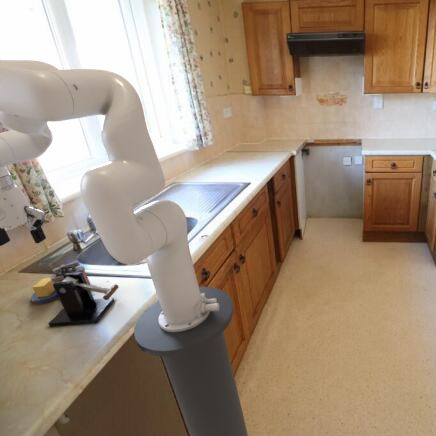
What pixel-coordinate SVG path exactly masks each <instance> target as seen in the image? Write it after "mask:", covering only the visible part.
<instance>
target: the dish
mask: <svg viewBox="0 0 436 436" xmlns="http://www.w3.org/2000/svg"><path fill="white" fill-rule="evenodd" d="M30 299H31V301H32V303H33V304H37V305H39V304H40V305H41V304H45V303H50V302H52V301H55V300H56V299H59V297H58V295H57V293H56V291H54V292H53V293H51V294H50V295H49V296H44V297H37V295H36V293H35V292H33V293H32V295H31V296H30Z"/></svg>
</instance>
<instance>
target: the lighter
mask: <svg viewBox="0 0 436 436" xmlns="http://www.w3.org/2000/svg"><path fill="white" fill-rule="evenodd" d="M52 272H53V273H54V274H53V275H51V276H50V278H51V280H52V281H53V283H55V282H62V281H63V280H64V277H63V275H64V274H65V273H78V272H82V273H83V275H84V278H85V280H86V282H87V284H88V285H92V284H91V282H90V280H89V278H88V275H87V273H86V269H85V267H84V266H80V262H79V261H78V260H76V261H73V262H70V263H68V264H66V263H64V264H60V266H58V267H55V268H53V269H52Z"/></svg>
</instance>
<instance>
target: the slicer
mask: <svg viewBox="0 0 436 436" xmlns="http://www.w3.org/2000/svg"><path fill="white" fill-rule="evenodd" d="M63 277H64V279H65V278H66V277H71V278H76V279H79V283H83V284H87V282H86V280H85V278H84V275H83V273H82V272H78V273H65V274H64V275H63ZM53 287H54V289H55V291H56V293H57V295H58V299H59V301H60V303H61V306H62V307H63V308H62V309H61V310H60V311H59V312H58V313H57V314H56V315H55V316H54V317H53V318H52V319H51V320H50V321H49V322H48V326H49V327H50V328H52V327H53V328H55V327H66V326H67V327H68V326H78V325H79V326H80V325H90V324H91V325H92V324H98V322H99V321H100V320H101V319H102V318H103V316H104V315H105V314H106V313H107V311H108V310H109V309H110V308H111V306H112V305H113V304H114V303H115V298H114V297H110V298H109V299H108V300H104V299H103V298H94V296H93V293H92V291H89V290H84V289H79V288H75V285H74V283H73V281H67V282H55V283H54V284H53Z"/></svg>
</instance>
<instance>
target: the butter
mask: <svg viewBox="0 0 436 436" xmlns="http://www.w3.org/2000/svg"><path fill="white" fill-rule="evenodd" d="M53 284H54V283H53V281H52V280H51V277H43V278H41V279H40V280H39V281H38V282H37V283H35V284H34V285H32V289H33V291H34V293H36V295H37V297H44V296H49V295H50V294H51V293H53V292H54V291H55V289H54V287H53Z"/></svg>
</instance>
